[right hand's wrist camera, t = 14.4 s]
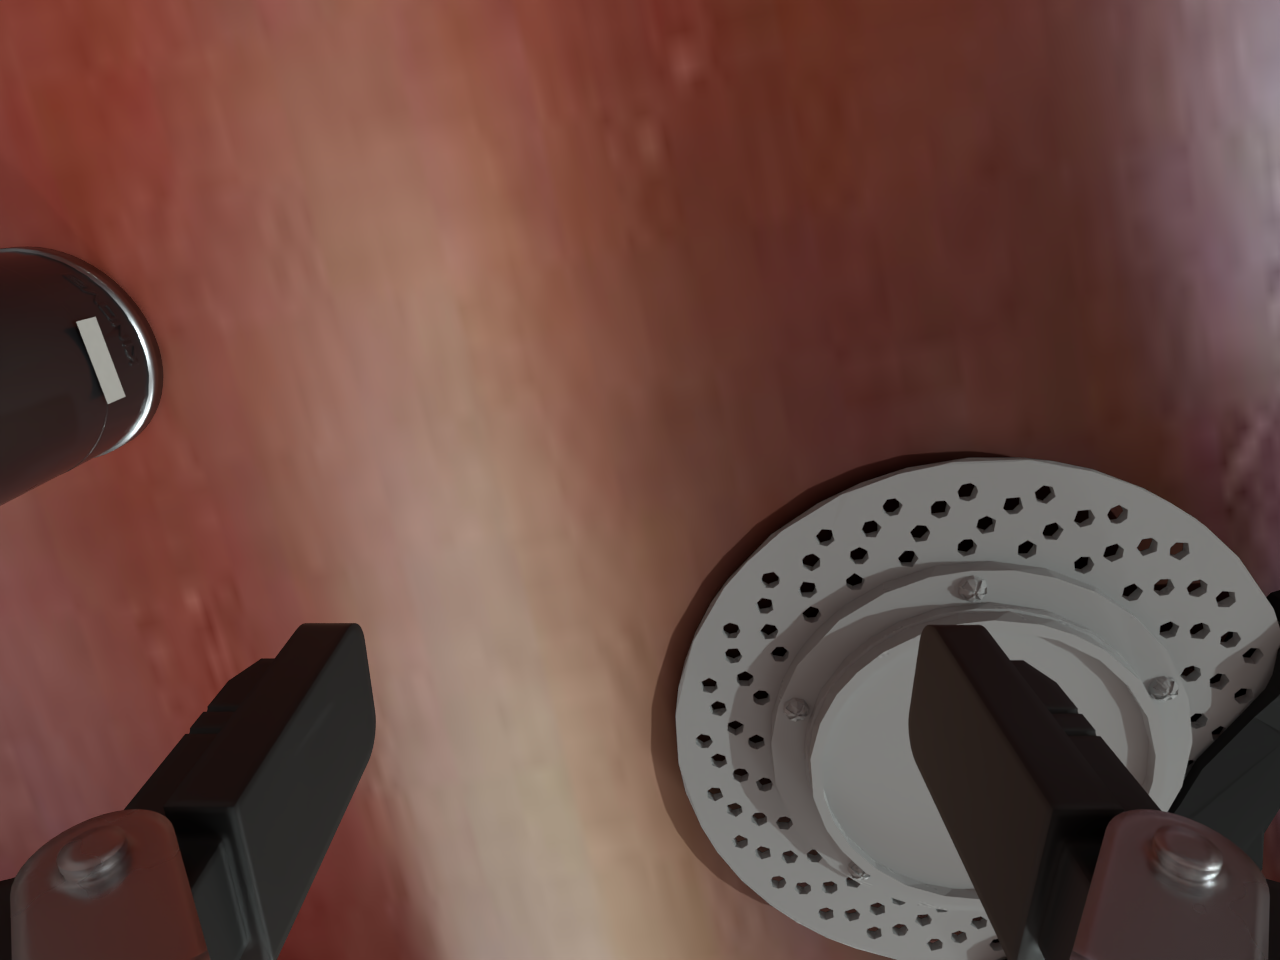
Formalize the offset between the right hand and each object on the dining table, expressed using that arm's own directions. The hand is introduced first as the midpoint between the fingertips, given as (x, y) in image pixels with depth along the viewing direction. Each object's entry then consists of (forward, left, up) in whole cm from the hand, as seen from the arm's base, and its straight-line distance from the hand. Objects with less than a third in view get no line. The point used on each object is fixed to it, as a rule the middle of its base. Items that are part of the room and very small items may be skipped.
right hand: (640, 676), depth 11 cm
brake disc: (+6, -27, -26) cm, 38 cm away
